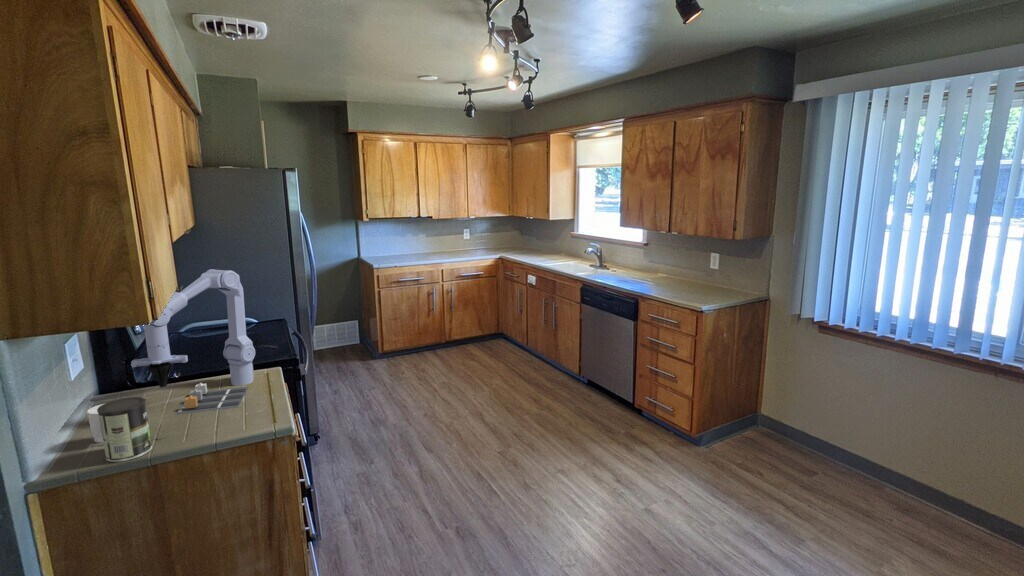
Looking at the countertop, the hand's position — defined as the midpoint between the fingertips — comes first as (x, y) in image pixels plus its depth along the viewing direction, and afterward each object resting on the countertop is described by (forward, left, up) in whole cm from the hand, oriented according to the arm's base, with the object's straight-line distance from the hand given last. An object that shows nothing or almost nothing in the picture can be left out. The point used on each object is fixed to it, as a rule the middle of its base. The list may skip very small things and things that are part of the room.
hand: (163, 386), depth 158 cm
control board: (-6, +12, -10) cm, 17 cm away
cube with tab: (-12, +7, -9) cm, 16 cm away
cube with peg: (-6, +7, -9) cm, 13 cm away
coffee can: (+24, -2, -10) cm, 27 cm away
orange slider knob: (0, +7, -9) cm, 11 cm away
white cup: (+14, -10, -10) cm, 20 cm away
